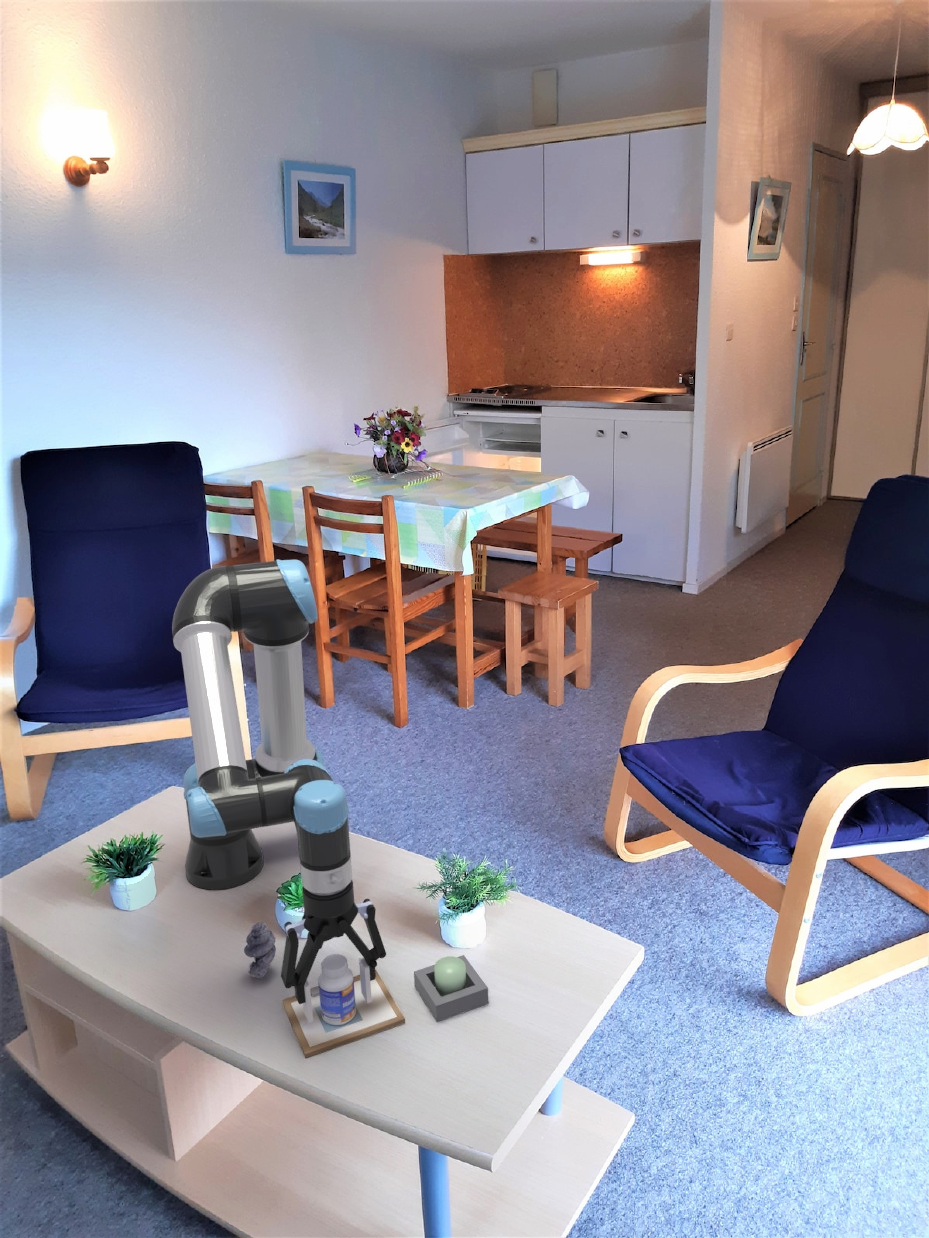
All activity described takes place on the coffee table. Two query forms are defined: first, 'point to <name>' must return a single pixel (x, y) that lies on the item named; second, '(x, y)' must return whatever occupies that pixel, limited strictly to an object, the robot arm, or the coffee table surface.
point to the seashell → (260, 949)
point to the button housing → (455, 1001)
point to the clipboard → (363, 1024)
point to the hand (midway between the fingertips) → (337, 1006)
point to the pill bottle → (336, 990)
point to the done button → (450, 975)
